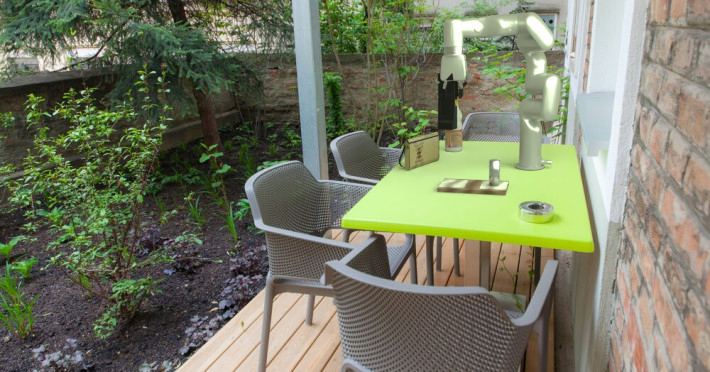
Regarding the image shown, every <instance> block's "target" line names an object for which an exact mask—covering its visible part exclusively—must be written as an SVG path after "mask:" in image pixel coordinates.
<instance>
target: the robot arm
mask: <svg viewBox="0 0 710 372" xmlns="http://www.w3.org/2000/svg"><path fill="white" fill-rule="evenodd" d="M517 35H518V36H517ZM504 36H505V37H506V36H517V37H516V47H517V48H518V50H519V51H520V52H521V53H522V55H523V56H524V59H525V63H526V64H525V65H526V67H525V75H524V76H525V77H524V91H525V93H526V94H528V95H532V96H542V97H541V98H539V97H537V98H536V97H527V98H525V99H523V100H521V102H520V103H519V104H518V108H517V110H518V117H519V146H518V147H519V151H518V162H517V163H515V165H514V166H515V169H518V170H524V171H538V170H543V169H544V168H545V165H549V166H550V165H552V159H551V160H550V159H543V158H542V145H543V144H542V143H543V141H542V140H543V126H542V123H541V122H551V121H553V120H554V119H555V118H556V117H557V116H558V115H557V114H558V112H559V108H560V107H559V106H560V98H561V90H562V81H561V78H560V77H559V75H557V74H555V73H551V72H547V69H548V61H547V57H546V54H545V53H546V52H548V51H551V49H552V48H553V47H554V45H555V35H554V34H553V31H552V30H551V28H550V27H549V26H548V25H547V23H546V22H545V21H544V20H543V19H542V17H540V16H539V15H538V14H537V13H536V12H533V11H528V12H520V13H519V12H518V13H505V14H504V13H503V14H493V15H487V16H486V15H485V16H482V17H473V16H471V17H465V18H458V17H457V18H447V19H445V20H444V22H443V55H442V56H441V62H440V67H441V70H440V69H439V73H440V78H441V80H442V81H444V84H443V89H445V88H446V85H447V81H457V82H458V86H459V88H458V91H459V96H458V100H461V99H463V97H464V88H465V87H466V86H467V85H468V84H469V83H470V82H472V81H473V78H472V76H471V75H470V73H468V65H467V56H466V54H464V53H466V52H468V48H467V47H464V39H469V38H492V37H493V38H495V37H504ZM451 73H452V74H453V80H446V79H447V78H448V77H449V76H450V75H451ZM434 81H435V83H437V85H438V84H440V86H441V87H442V82H440V83H439V81H438V76H437V77H436V79H434ZM445 99H447V89H445Z"/></svg>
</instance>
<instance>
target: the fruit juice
mask: <svg viewBox="0 0 710 372" xmlns="http://www.w3.org/2000/svg"><path fill="white" fill-rule="evenodd" d="M462 119H463V113H462V110H461V109H460V107H459V98H457V129H454V130H444V151H445V152H450V153H456V152H462V151H463V122H462Z"/></svg>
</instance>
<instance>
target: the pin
mask: <svg viewBox="0 0 710 372" xmlns="http://www.w3.org/2000/svg"><path fill="white" fill-rule="evenodd" d="M488 161H489V166H488V169H489V171H488V180H489V186H499V181H501V180H500V176H501V175H500V172H501V171H500V170H501V168H500V167H501V159H498V158H495V159H493V158H492V159H489V160H488Z"/></svg>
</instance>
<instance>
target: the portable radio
mask: <svg viewBox="0 0 710 372" xmlns="http://www.w3.org/2000/svg"><path fill="white" fill-rule="evenodd" d="M440 70H441V66H439V71H440ZM437 77H438V81H439V83H440V82H442V87H441V86H440V84H438V83H437V130H439V131H445V130H454V129H457V99H458V98H459V81H447V85H446V88H445V89H447V99H445V89H443V84H444V81H442V80H441V78H440V72H439V73H437ZM446 80H453V74H452V73H451V75H450V76H449V77H448V78H447V79H446Z"/></svg>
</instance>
